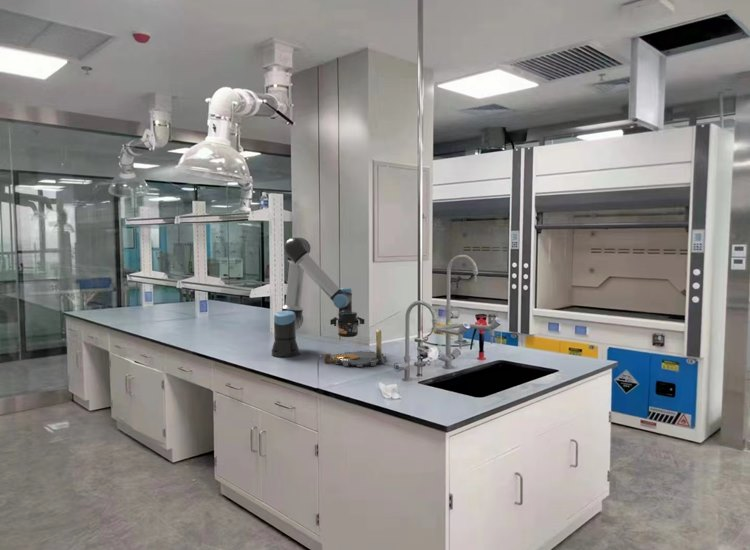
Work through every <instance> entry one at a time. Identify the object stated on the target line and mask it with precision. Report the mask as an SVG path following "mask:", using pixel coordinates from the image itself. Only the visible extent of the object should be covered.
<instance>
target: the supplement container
mask: <svg viewBox="0 0 750 550" xmlns="http://www.w3.org/2000/svg"><path fill="white" fill-rule="evenodd" d="M338 313H339V317H337V319H338V327H337V334H338V335H337V336H339V337H341V338H353V337H357V336H358V334H359V327H358V318H357V317H358V312H356V311H352V312H339V311H338Z"/></svg>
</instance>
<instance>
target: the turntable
mask: <svg viewBox="0 0 750 550" xmlns="http://www.w3.org/2000/svg"><path fill="white" fill-rule="evenodd" d="M375 332H376V334H375V335H376V339H375V340H376V342H375V344H376V345H375V346H376V349H375V350H376V352H375V351H371V350H370V351H363V350H358V351H344V353H337V354H335V356H332V362H334V364H335V365H342V366H343V367H351V366H353V367H357V368H362V367H365V366H370V367H373V366H377V365H378V364H380V365H381V364H385V361H386V362H387V355H384V353H383V352H382V330H379V329H377V330H376V331H375Z"/></svg>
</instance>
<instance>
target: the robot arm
mask: <svg viewBox="0 0 750 550" xmlns="http://www.w3.org/2000/svg"><path fill="white" fill-rule="evenodd" d="M283 249H284V253H285V255H286V256H287V258H286V261H287V262H288V263H289V265H288V276H287V284H286V285H287V287H286V296H285V304H284V305H283V306H282V308H281V309H282V310H281V311H277V312H276V313H274V316H273V328H274V329H273V331H274V332H273V333H274V335H273V336H274V341H273V344H272V347H271V356H272V355H274V356H273V357H276V356H285V357H284V358H287V357H286V356H290V357H294V356H295V357H296V356H298V355H300V348H299V345H298V342H297V339H296V338H297V335H296V332H297V330H299V329H300V328H301V327H302V325H303V323H304V316H303V310H304V309H303V308H302V306H301V303H302V292H303V282H304V273H306V274H307V275H308V277H309V278H311V280H313V282H314V283H315V284H316V285H317V286H318V287H319V288H320V289H321V290H322V291H323V292H324V294H325V295H326V296H328V298H329V299H330V300H331V301H332V302H333V306H335V307H336V308H337V309H338V313H337V314H338V315H337V316H338V317H336V316H334V317H333V318H331V319H330V320H329V321H330V323H329V324H330V325H331V326H332V325H333V327H336V328H338V318H339V312H353V305H352V304H353V302H352V299H353V298H352V295H353V293H352V292H353V290H352V288H350V287H339V286H338V285H337V284H336V283H335V282H334V281H333V279H331V278H330V276H329V275H328V274H327V273H326V272H325V270H324V269H322V268H321V267H320V266H319V264H318V263H317V262H316V261H315V260H314V259H313V258H312V257H311V256H310V252H311V244H310V243H309V241H308V240H307V239H305V238H303V237H290V238H289V239H287V240H286V241H285V243H284V247H283ZM357 318H358V328H359V327H361V325H365V319H364V318H363V317H359V316H357Z"/></svg>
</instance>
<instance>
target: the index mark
mask: <svg viewBox="0 0 750 550" xmlns="http://www.w3.org/2000/svg"><path fill="white" fill-rule="evenodd" d="M331 359H332V358H331V353H324V364H331V363H332V362H331Z"/></svg>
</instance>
